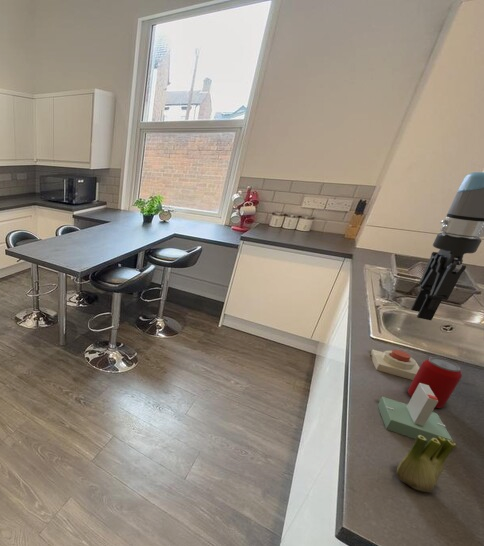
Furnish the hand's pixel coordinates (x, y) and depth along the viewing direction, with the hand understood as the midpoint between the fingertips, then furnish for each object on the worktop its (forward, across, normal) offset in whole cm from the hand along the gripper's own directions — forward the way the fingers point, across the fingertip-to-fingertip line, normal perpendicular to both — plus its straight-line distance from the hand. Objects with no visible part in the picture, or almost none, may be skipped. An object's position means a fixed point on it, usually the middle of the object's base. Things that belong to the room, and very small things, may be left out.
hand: (420, 314), depth 88 cm
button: (+15, 0, 0) cm, 15 cm away
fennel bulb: (+19, +47, -7) cm, 51 cm away
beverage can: (+19, +14, +3) cm, 24 cm away
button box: (+19, 0, 0) cm, 19 cm away
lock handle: (+16, +28, -3) cm, 32 cm away
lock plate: (+19, +28, -3) cm, 34 cm away
